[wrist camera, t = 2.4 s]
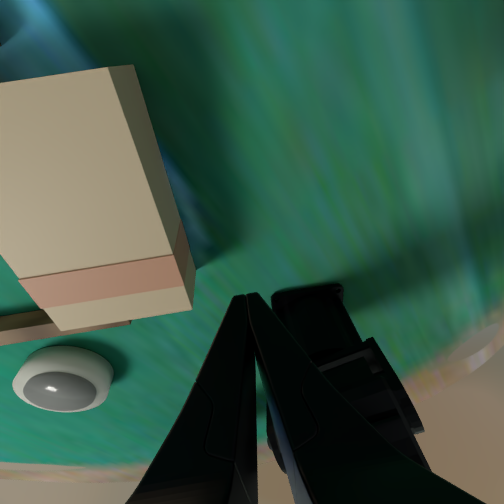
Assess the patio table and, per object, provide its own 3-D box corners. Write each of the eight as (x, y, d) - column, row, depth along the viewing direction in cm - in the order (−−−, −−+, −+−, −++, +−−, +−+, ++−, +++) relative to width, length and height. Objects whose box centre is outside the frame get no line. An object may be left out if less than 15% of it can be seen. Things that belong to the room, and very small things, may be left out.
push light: (93, 339, 26) (83, 362, 24) (125, 385, 31) (119, 408, 29) (6, 353, 26) (-11, 378, 24) (51, 398, 31) (40, 421, 29)
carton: (134, 64, 15) (107, 66, 11) (196, 269, 23) (192, 310, 19) (-38, 90, 15) (-125, 101, 11) (85, 287, 23) (59, 332, 19)
